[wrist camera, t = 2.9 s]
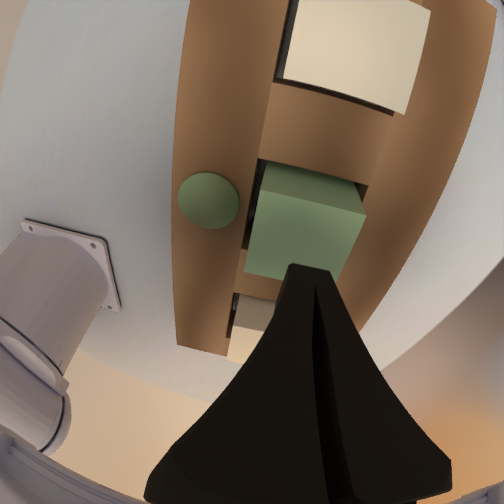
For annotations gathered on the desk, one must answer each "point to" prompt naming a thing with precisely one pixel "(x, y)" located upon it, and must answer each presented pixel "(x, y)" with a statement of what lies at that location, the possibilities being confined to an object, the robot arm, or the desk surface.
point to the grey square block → (359, 48)
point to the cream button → (249, 326)
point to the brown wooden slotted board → (306, 152)
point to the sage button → (303, 221)
